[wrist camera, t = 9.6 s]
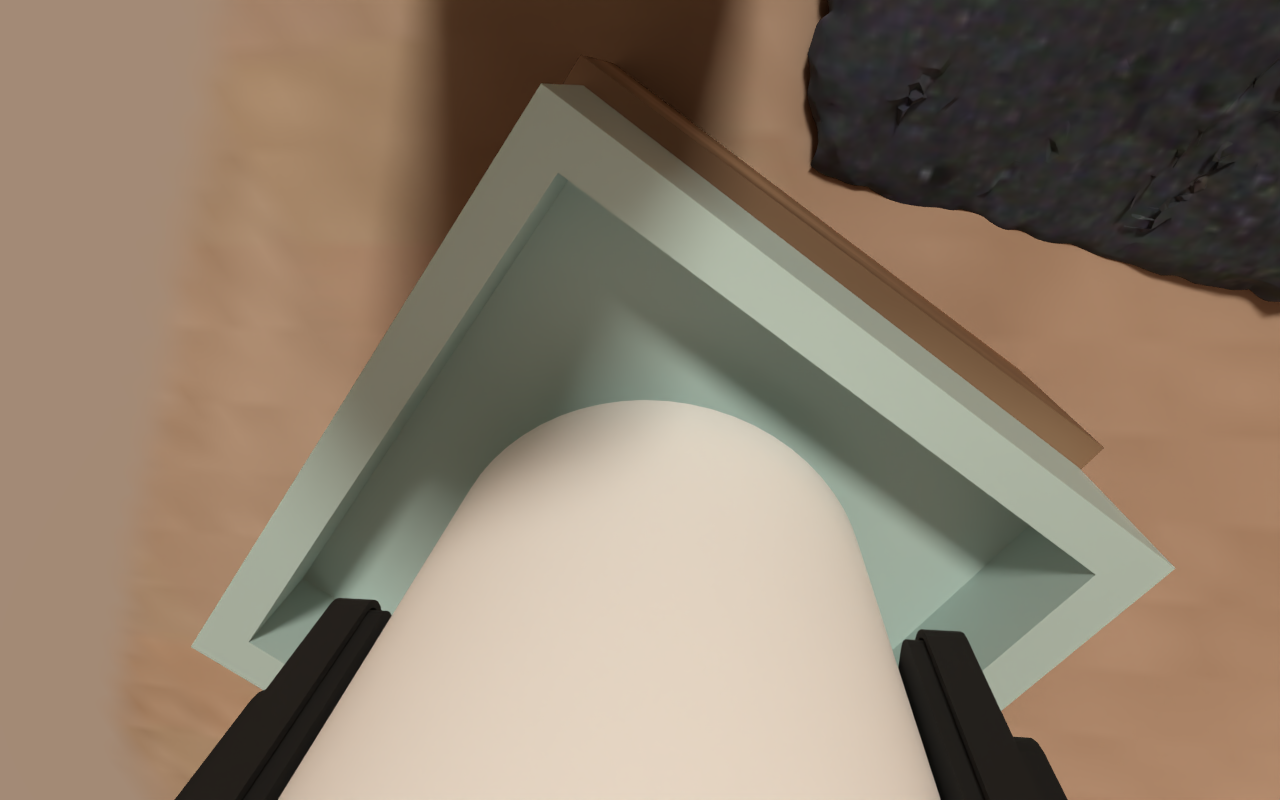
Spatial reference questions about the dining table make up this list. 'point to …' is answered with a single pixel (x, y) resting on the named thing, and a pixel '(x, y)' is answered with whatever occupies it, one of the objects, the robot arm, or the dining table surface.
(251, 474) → the dining table surface
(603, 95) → the bottom block
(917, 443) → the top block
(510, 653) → the can
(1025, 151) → the dark slate chunk
